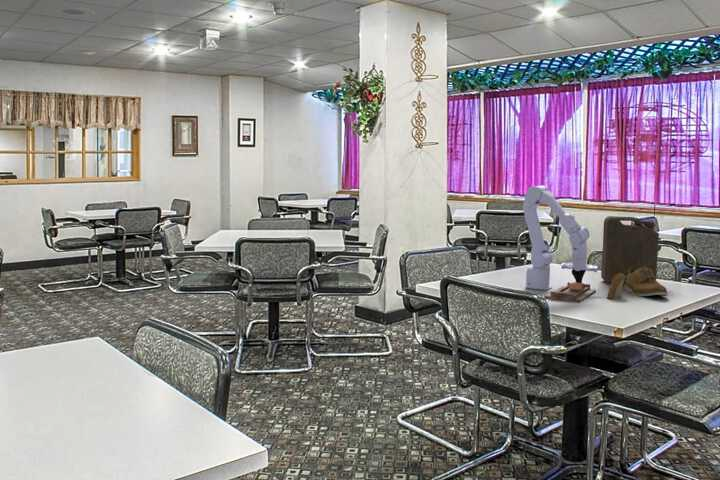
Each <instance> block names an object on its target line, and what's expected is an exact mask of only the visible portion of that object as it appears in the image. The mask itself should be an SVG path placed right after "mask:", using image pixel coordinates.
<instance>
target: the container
mask: <svg viewBox="0 0 720 480" xmlns="http://www.w3.org/2000/svg"><path fill="white" fill-rule="evenodd" d="M622 222H634V224H623V223H622ZM655 227H656V222H654V221H649V220H647V221H646V220H641V219H640V218H637V217H635V216H614V215H609V216H606V217H605V219H604V221H603V230H602V232H603V233H602V235H603V236H602V253H601V266H600V267H601V270H600V271H601V272H600V276H601V279H602V280H603V281H604V282H605V283H607V284H609V285H611V283H612V278H613V277H614V276H615V275H617V274H618V273H623V274H624V275H625V279H624V282H623V285H625V283H626V280H627V276H628V272H629V270H630V269H636V270H637V269H639V268H641V267H644V266H647V267H649V269H652V273H653V275H654V277H655V279H656V280H657V272H658V271H657V269H658V255H659V239H660V234H659V233H660V232H657V231H655Z"/></svg>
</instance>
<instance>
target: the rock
mask: <svg viewBox="0 0 720 480" xmlns="http://www.w3.org/2000/svg"><path fill="white" fill-rule="evenodd" d="M624 279H625V275H624V274H623V273H618V274H617V275H615V276H614V277H613V278H612V283H611V284H610V287H609V289H608V293H607V295H606V299H609V300H614V299H615V298H616V297H617V298H619V297H620V296H622V290H623V285H624V284H623V282H624Z"/></svg>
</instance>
